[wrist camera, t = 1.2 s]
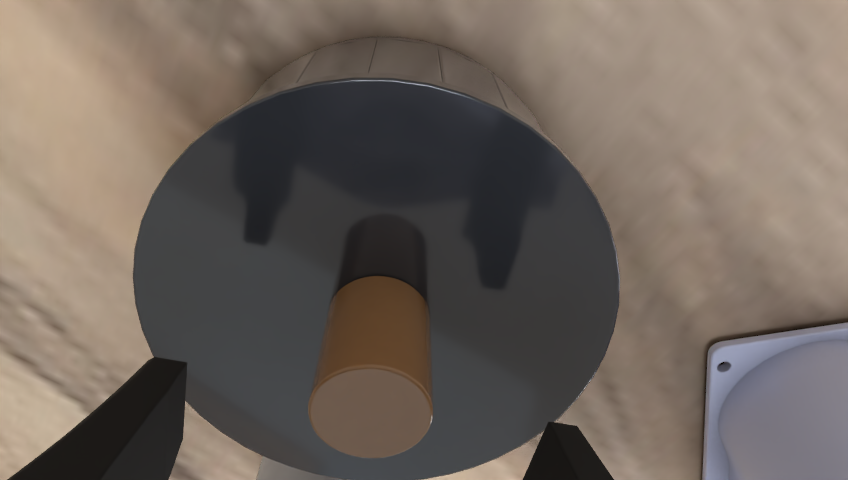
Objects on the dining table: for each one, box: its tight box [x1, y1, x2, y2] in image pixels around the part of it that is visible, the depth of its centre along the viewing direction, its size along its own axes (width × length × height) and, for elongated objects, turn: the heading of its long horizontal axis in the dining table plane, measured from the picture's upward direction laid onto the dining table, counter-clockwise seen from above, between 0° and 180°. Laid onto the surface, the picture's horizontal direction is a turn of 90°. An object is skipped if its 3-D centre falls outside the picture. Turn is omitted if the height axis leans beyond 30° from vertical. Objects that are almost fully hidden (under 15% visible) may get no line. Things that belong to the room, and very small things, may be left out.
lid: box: [133, 73, 620, 480], centre depth 15 cm, size 12×12×4 cm
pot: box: [249, 37, 542, 132], centre depth 19 cm, size 11×11×6 cm
